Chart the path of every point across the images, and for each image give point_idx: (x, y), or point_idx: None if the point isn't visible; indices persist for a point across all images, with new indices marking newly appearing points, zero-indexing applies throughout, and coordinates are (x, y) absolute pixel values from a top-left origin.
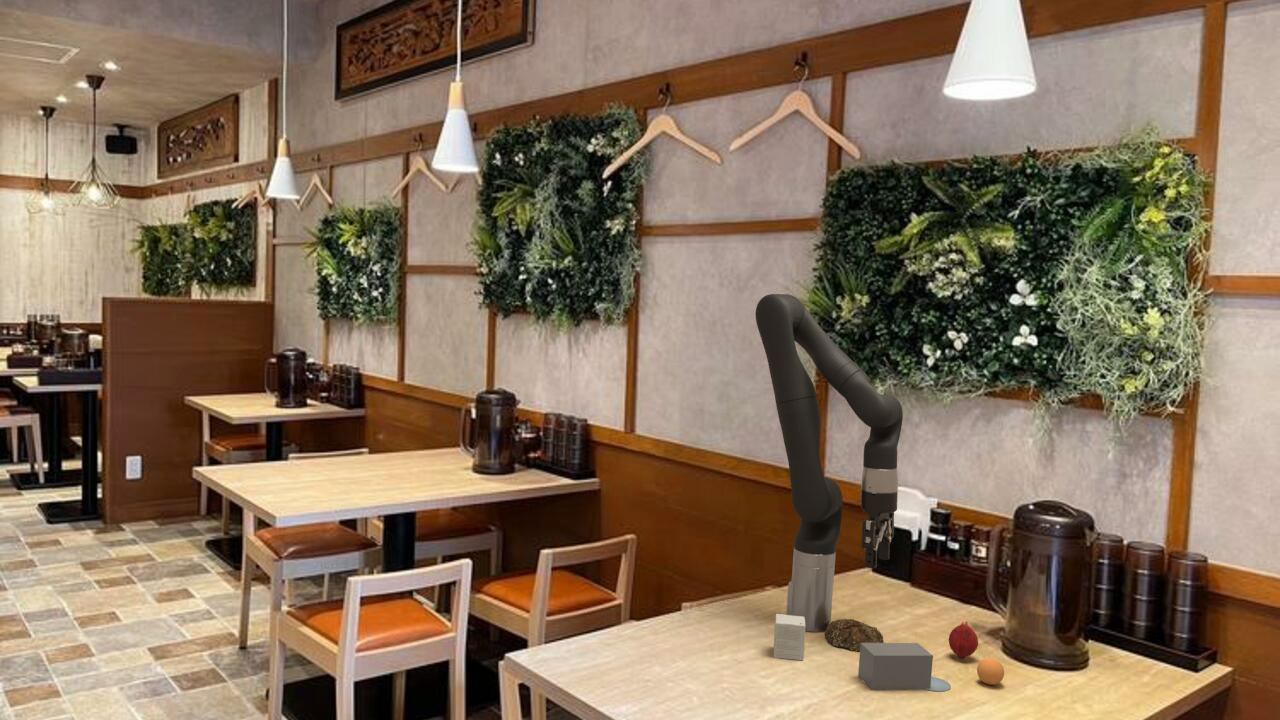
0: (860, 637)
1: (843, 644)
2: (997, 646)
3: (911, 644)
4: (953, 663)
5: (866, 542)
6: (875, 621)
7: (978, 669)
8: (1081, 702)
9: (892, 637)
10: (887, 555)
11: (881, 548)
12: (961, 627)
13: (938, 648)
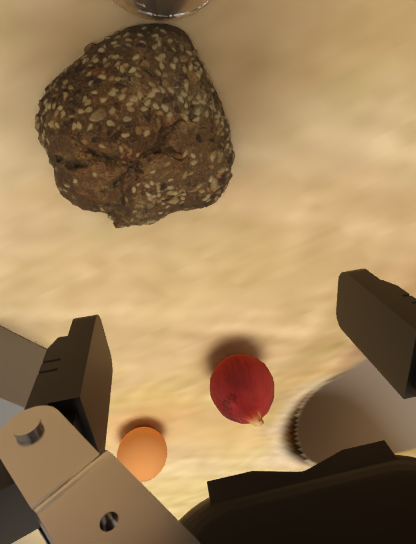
0: (94, 194)
1: (49, 152)
2: (350, 366)
3: (4, 409)
4: (192, 361)
5: (16, 481)
6: (357, 107)
7: (123, 446)
8: (183, 509)
9: (255, 206)
10: (352, 334)
11: (379, 323)
12: (238, 414)
13: (258, 308)
